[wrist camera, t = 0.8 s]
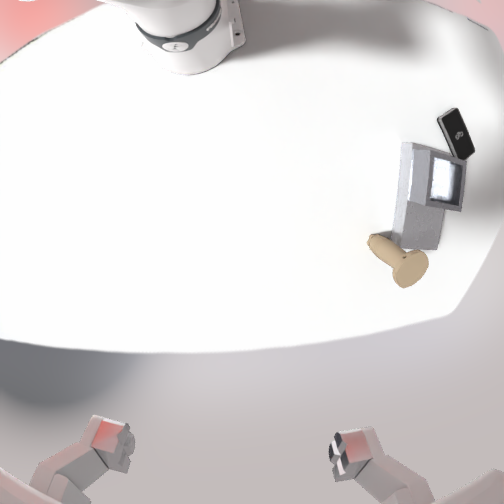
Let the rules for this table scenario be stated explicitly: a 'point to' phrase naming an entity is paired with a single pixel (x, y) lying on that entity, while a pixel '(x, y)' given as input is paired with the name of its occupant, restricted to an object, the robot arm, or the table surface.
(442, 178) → the duct
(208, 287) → the table surface
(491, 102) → the table surface
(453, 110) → the external hard drive
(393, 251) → the handle
